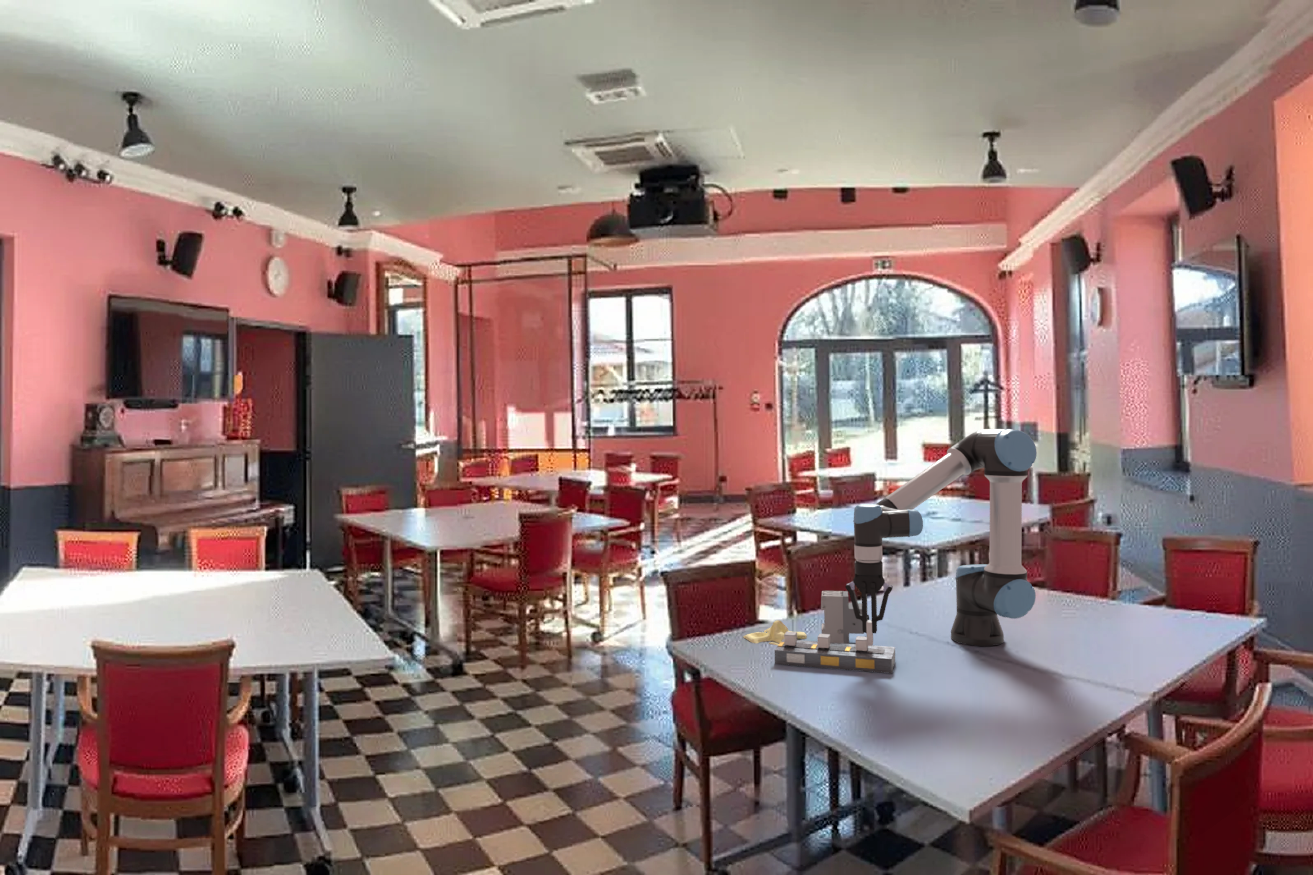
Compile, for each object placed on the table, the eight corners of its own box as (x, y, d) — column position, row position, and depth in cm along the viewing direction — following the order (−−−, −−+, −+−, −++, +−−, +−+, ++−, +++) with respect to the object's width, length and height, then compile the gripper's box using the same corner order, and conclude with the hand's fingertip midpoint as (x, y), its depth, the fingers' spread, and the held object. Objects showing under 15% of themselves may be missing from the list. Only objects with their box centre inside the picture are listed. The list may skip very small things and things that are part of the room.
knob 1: (797, 642, 244) (797, 632, 244) (794, 645, 241) (794, 635, 240) (786, 641, 245) (786, 631, 245) (784, 645, 242) (784, 634, 241)
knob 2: (830, 644, 241) (830, 634, 241) (828, 648, 237) (828, 637, 237) (819, 644, 242) (819, 633, 242) (817, 647, 238) (817, 636, 238)
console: (895, 661, 239) (895, 646, 239) (891, 674, 227) (891, 658, 227) (783, 652, 250) (783, 638, 250) (774, 664, 238) (774, 649, 238)
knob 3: (868, 647, 237) (867, 636, 237) (866, 651, 234) (866, 640, 234) (857, 646, 238) (857, 636, 238) (855, 650, 235) (855, 639, 235)
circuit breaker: (869, 646, 254) (869, 596, 254) (821, 644, 257) (820, 596, 256) (868, 639, 261) (867, 591, 261) (821, 638, 264) (821, 590, 264)
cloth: (734, 642, 264) (734, 622, 264) (764, 629, 279) (764, 610, 279) (798, 653, 251) (797, 632, 251) (826, 638, 266) (825, 619, 265)
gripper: (893, 558, 236) (895, 642, 236) (846, 557, 240) (848, 639, 241) (891, 563, 229) (893, 649, 229) (842, 561, 233) (844, 646, 234)
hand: (869, 644), depth 235 cm, fingers closed
